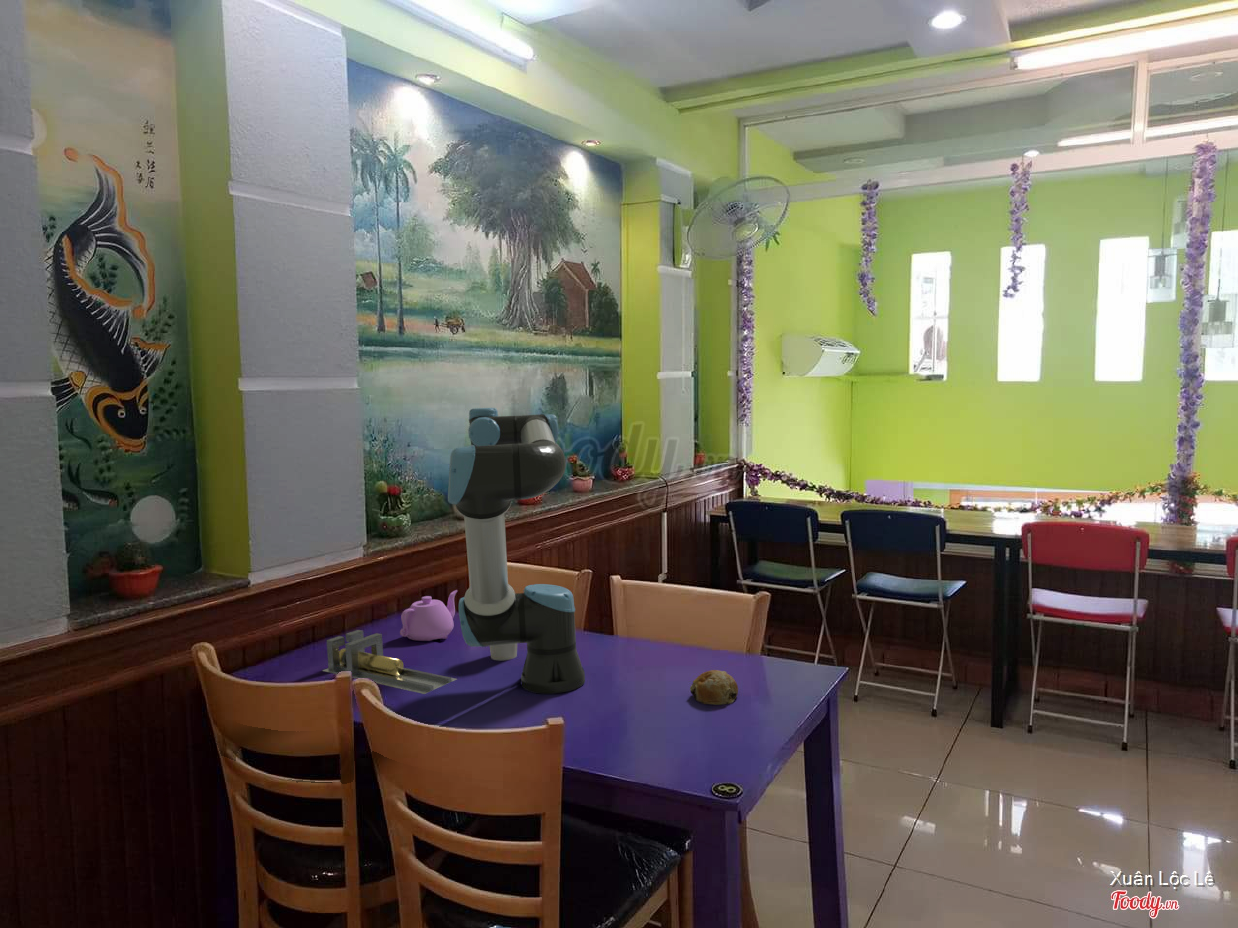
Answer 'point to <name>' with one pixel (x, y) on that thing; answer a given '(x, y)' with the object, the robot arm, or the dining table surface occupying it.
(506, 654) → the coffee cup
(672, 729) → the dining table surface
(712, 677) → the bread roll
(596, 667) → the dining table surface
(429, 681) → the collar base
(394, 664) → the tube
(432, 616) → the teapot
